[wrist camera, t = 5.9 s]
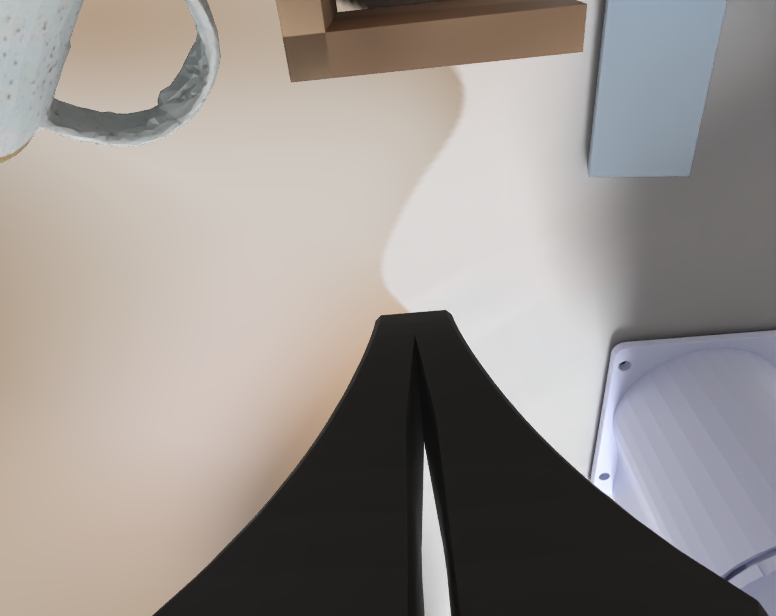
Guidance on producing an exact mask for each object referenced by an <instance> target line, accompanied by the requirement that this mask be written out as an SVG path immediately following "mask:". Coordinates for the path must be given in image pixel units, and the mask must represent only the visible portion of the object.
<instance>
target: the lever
mask: <svg viewBox="0 0 776 616" xmlns="http://www.w3.org/2000/svg"><path fill="white" fill-rule="evenodd" d="M726 4H727V0H606V3H605V12H604V21H603V31H602V40H601V49H600V58H599V68H598V77H597V86H596V95H595V105H594V114H593V123H592V132H591V142H590V151H589V160H588V174H589V177H671V176H689V175H690V171H691V166H692V161H693V157H694V152H695V147H696V143H697V138H698V134H699V129H700V124H701V120H702V115H703V110H704V106H705V101H706V96H707V92H708V87H709V83H710V78H711V73H712V69H713V64H714V59H715V55H716V50H717V46H718V41H719V36H720V32H721V27H722V22H723V18H724V13H725V9H726Z"/></svg>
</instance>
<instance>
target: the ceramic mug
mask: <svg viewBox="0 0 776 616" xmlns="http://www.w3.org/2000/svg"><path fill="white" fill-rule="evenodd" d="M185 1H186V3H187V5H188V8H189V10H190V13H191V14H192V17H193V19H194V21H195V22H196V30H197V31H198V35H197V39H196V42H195V44H194V45H193V46H192V48H191V50H190V52H189V54H188V56H187V58H186V60H185V62H184V65H183V67H182V69H181V70H180V72H179V74H178V75H177V77H176V78H175V79H174V81H173V82H172V84H171V85H170V86H169V87H167V88H165V89H164V90H162V91H161V92H160V94H159V98H158V105H157V106H155V107H154V108H152V109H149V110H144V111H140V112H135V113H129V114H116V113H113V112H98V111H94V110H90V109H86V108H81V107H76V106H74V105H71V104H68V103H65V102H62V101H59V100H57V99H55V98H54V94H55V91H56V87H57V84H58V81H59V78H60V75H61V72H62V68H63V65H64V62H65V60H66V57H67V55H68V52H69V50H70V41H69V40H70V37H71V34H72V32H73V28H74V25H75V22H76V19H77V16H78V14H79V11H80V9H81V6H82V3H83V0H0V163H2V162H4V161H6V160H8V159H10V158H12V157H13V156H15V155H17V154H18V153H19V152H20V151H21V150H22V149H23V148H24V147H26V145H27V144H28V143H29V141H30V140H31V138H32V137H33V136H34V134H35V133H36V132H37V131H39V130H41V129H46V130H51V131H54V132H56V133H57V134H59V135H61V136H64V137H69V138H72V139H75V140H78V141H80V142H88V143H93V144H97V145H103V146H139V145H144V144H147V143H150V142H153V141H156V140H160V139H162V138H164V137H166V136H168V135H170V134H172V133H174V132H176V131H178V130H179V129H180V128H182V127H183V126H184V125H185V124H186V123H187V122H188V121H189V120H191V119H192V118H193V117H194V116H195V115H196V113H197V112H198V111H199V109H200V108H201V106H202V105H203V103H204V102H205V100H206V98H207V96H208V94H209V93H210V91H211V89H212V87H213V85H214V82H215V79H216V75H217V71H218V68H219V64H220V48H219V39H218V32H217V28H216V25H215V22H214V19H213V16H212V13H211V11H210V8H209V5H208V2H207V0H185Z"/></svg>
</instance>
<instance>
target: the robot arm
mask: <svg viewBox="0 0 776 616" xmlns="http://www.w3.org/2000/svg"><path fill="white" fill-rule="evenodd" d="M625 361H627V362H626V363H625V364H622V365H619V364H620V363H622V362H625ZM424 443H425V449H426V454H427V460H428V465H429V471H430V476H431V482H432V487H433V493H434V498H435V504H436V509H437V514H438V520H439V525H440V531H441V536H442V542H443V547H444V554H445V561H446V568H447V576H448V587H449V597H450V608H451V616H776V330H772V331H759V332H746V333H734V334H721V335H708V336H695V337H683V338H670V339H657V340H645V341H632V342H623V343H620V344H618V345H616V346H615V347H614V348H613V350H612V352H611V357H610V363H609V370H608V376H607V382H606V388H605V394H604V400H603V406H602V412H601V418H600V424H599V430H598V436H597V443H596V449H595V455H594V461H593V467H592V473H591V479H590V481H589V480H587V479H586V478H585V477H584V476H583V475H582V474H581V473H579V472H578V471H577V470H576V469H575V468H574V467H573V466H572V465H571V464H570V463H569V462H567V461H566V460H565V459H564V458H563V457H562V456H561V455H560V454H559V453H558V452H557V451H556V450H555V449H554V448H553V447H552V446H551V445H550V444H548V443H547V442H546V441H545V440H544V439H543V438H542V437H541V436H540V435H539V434H538V433H537V431H536V430H535V429H534V428H533V427H532V426H531V425H530V424H529V423H528V422H527V421H526V420H525V419H524V417H523V416H522V415H521V414H520V413H519V412H518V411H517V410H516V408H515V407H514V406H513V405H512V404H511V403H510V401H509V400H508V399H507V398H506V397H505V395H504V394H503V393H502V392H501V390H500V389H499V388H498V387H497V385H496V384H495V383H494V382H493V380H492V379H491V377H490V376H489V375H488V373H487V372H486V371H485V369H484V368H483V367H482V365H481V364H480V363H479V361H478V360H477V358H476V357H475V355H474V354H473V352H472V351H471V349H470V348H469V346H468V345H467V343H466V341H465V340H464V338H463V336H462V335H461V333H460V331H459V329H458V327H457V325H456V323H455V321H454V319H453V317H452V315H451V314H450V313H449V312H448V311H446V310H441V311H429V312H417V313H405V314H393V315H381V316H380V317H379V318H378V319H377V320H376V322H375V326H374V330H373V332H372V335H371V338H370V341H369V343H368V346H367V348H366V350H365V353H364V355H363V357H362V359H361V362H360V364H359V366H358V368H357V370H356V372H355V374H354V376H353V378H352V380H351V382H350V384H349V386H348V388H347V389H346V391H345V393H344V395H343V397H342V398H341V400H340V402H339V403H338V405H337V407H336V408H335V410H334V412H333V413H332V415H331V417H330V418H329V420H328V422H327V423H326V425H325V427H324V428H323V430H322V431H321V433H320V434H319V436H318V437H317V439H316V440H315V442H314V443H313V444H312V446H311V447H310V449H309V450H308V452H307V453H306V454H305V456H304V457H303V459H302V460H301V461H300V463H299V464H298V465H297V467H296V468H295V469H294V471H293V472H292V473H291V474H290V476H289V477H288V478H287V479H286V481H285V482H284V483H283V484H282V485H281V487H280V488H279V489H278V490H277V491H276V493H275V494H274V495H273V496H272V498H271V499H270V500H269V501H268V502H267V503H266V505H265V506H264V507H263V508H262V509H261V510H260V511H259V513H258V514H257V515H256V516H255V517H254V518H253V519H252V520H251V521H250V522H249V523H248V525H246V527H245V528H244V529H243V530H242V531H241V532H240V533H239V534H238V535H237V536H236V537H235V538H234V539H233V540H232V541H231V542H230V543H229V544H228V545H227V546H226V547H225V548H224V549H223V550H222V551H221V552H220V553H219V554H218V555H217V556H216V558H215V559H214V560H213V561H212V562H211V563H210V564H209V565H208V566H207V567H205V568H204V569H203V570H202V571H201V572H200V573H199V574H198V575H197V576H196V577H195V578H194V579H193V580H192V581H191V582H189V583H188V584H187V585H186V586H185V587H184V588H183V589H182V590H180V591H179V592H178V593H177V594H176V595H175V596H174V597H173V598H172V599H170V600H169V601H168V602H167V603H166V604H165V605H164V606H163V607H161V608H160V609H159V610H158V611H157V612H156V613H155V614H154V615H153V616H424V600H423V584H422V553H421V546H422V505H423V462H424ZM607 495H613V497H614V499H615V501H613V500H612V499H611V498H610V497H608V496H607Z"/></svg>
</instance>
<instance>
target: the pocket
mask: <svg viewBox="0 0 776 616" xmlns="http://www.w3.org/2000/svg"><path fill="white" fill-rule="evenodd" d="M276 3H277V9H278V14H279V20H280V25H281V31H282V36H283V41H284V47H285V52H286V58H287V63H288V68H289V74H290V79H291V82H298V81H308V80H318V79H327V78H336V77H347V76H356V75H366V74H375V73H385V72H394V71H404V70H413V69H423V68H433V67H442V66H452V65H461V64H471V63H480V62H490V61H500V60H509V59H519V58H528V57H538V56H547V55H557V54H566V53H576V52H583V43H584V32H585V21H586V10H587V4H585V3H583V2H580V1H577V0H444V1H435V2H426V3H417V4H408V5H399V6H390V7H381V8H372V9H363V10H354V11H345V12H337V6H336V0H276Z"/></svg>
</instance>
